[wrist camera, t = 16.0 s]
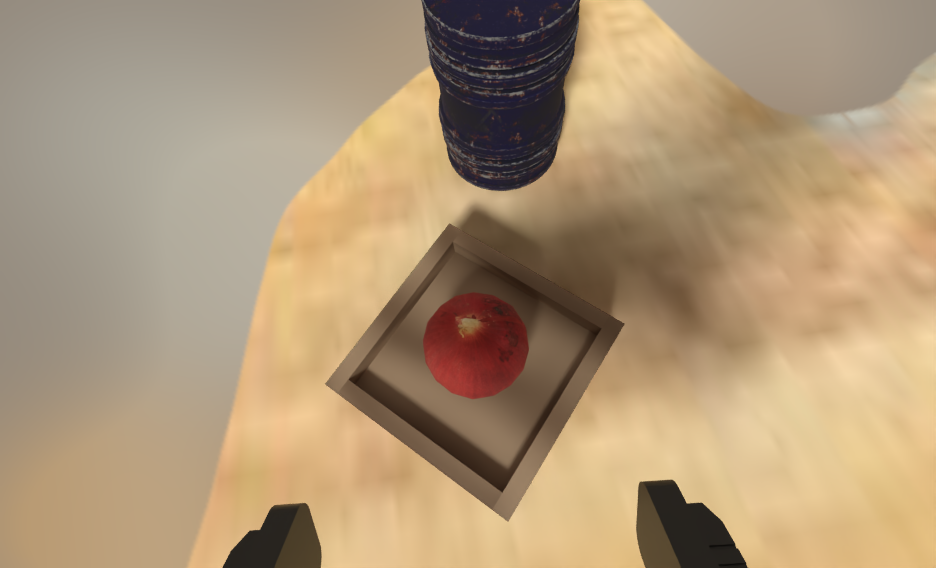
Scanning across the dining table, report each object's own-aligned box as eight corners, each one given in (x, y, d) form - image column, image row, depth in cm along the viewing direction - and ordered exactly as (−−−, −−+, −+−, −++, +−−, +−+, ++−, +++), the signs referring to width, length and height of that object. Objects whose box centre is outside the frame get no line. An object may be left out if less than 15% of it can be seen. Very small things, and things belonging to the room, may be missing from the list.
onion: (494, 301, 31) (490, 245, 24) (544, 374, 29) (557, 338, 22) (417, 346, 30) (389, 303, 23) (463, 426, 28) (448, 406, 21)
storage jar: (548, 94, 43) (568, -85, 30) (568, 183, 40) (603, 26, 26) (440, 108, 44) (411, -62, 30) (450, 199, 40) (422, 51, 26)
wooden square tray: (458, 263, 38) (449, 223, 32) (603, 350, 34) (624, 323, 28) (356, 400, 34) (324, 384, 28) (507, 513, 31) (508, 521, 25)
